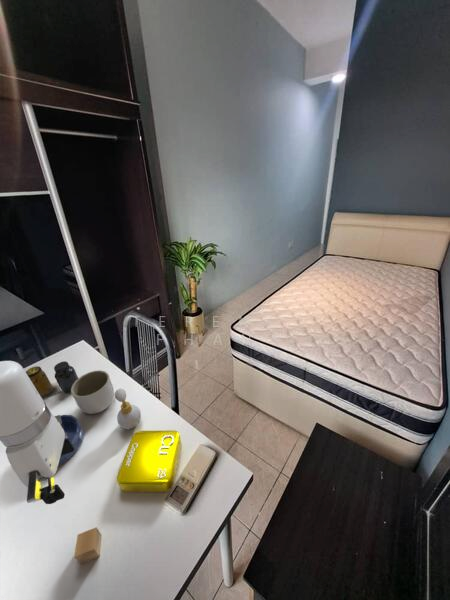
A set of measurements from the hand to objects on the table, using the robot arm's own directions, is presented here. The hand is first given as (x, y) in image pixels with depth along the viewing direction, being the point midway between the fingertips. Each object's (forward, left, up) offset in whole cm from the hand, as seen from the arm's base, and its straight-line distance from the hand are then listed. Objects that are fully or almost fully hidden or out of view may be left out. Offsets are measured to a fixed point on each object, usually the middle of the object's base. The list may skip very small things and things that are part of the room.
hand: (61, 474), depth 53 cm
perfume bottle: (+9, +25, -21) cm, 34 cm away
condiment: (-23, +51, -21) cm, 60 cm away
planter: (-2, +37, -21) cm, 42 cm away
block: (+1, -6, -20) cm, 21 cm away
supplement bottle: (-14, +50, -21) cm, 56 cm away
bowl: (-13, +24, -20) cm, 34 cm away
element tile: (+16, +8, -21) cm, 27 cm away
